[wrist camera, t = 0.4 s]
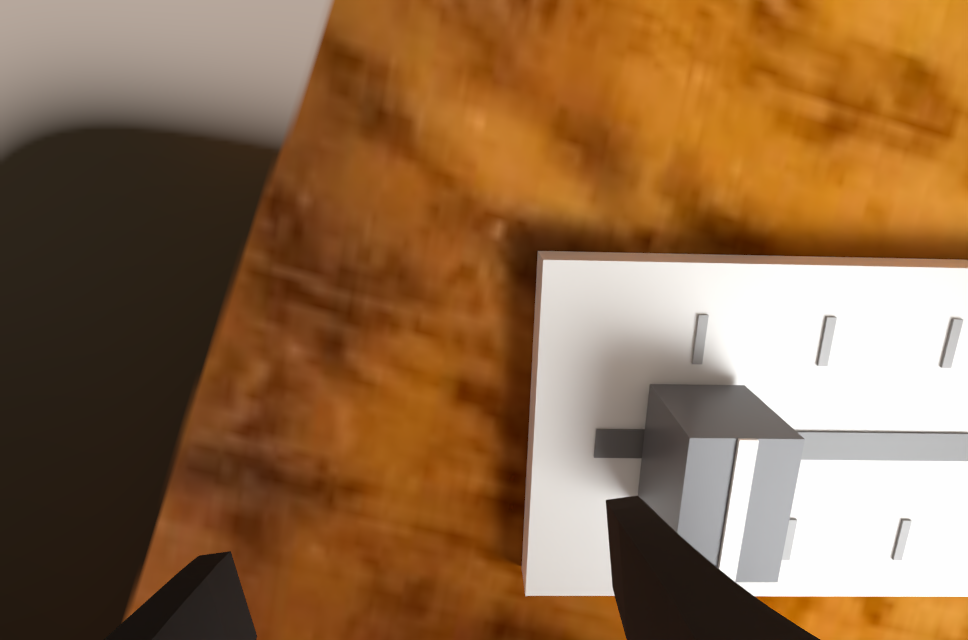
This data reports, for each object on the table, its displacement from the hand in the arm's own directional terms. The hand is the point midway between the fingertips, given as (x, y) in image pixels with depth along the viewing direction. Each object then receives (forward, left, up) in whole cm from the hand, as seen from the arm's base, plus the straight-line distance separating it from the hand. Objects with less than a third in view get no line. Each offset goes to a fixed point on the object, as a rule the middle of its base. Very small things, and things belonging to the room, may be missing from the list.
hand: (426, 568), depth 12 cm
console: (-2, -16, -10) cm, 19 cm away
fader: (-2, -8, -8) cm, 11 cm away
